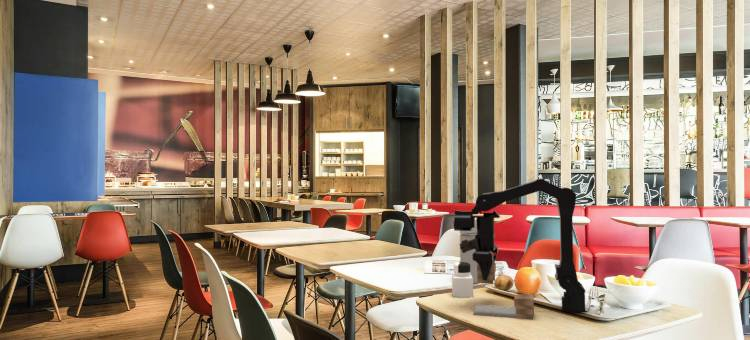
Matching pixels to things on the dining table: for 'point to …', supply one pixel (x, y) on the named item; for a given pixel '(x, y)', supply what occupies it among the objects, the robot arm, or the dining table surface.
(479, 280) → the block
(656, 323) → the dining table surface
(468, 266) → the medicine bottle
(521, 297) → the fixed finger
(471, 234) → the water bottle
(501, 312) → the rail
